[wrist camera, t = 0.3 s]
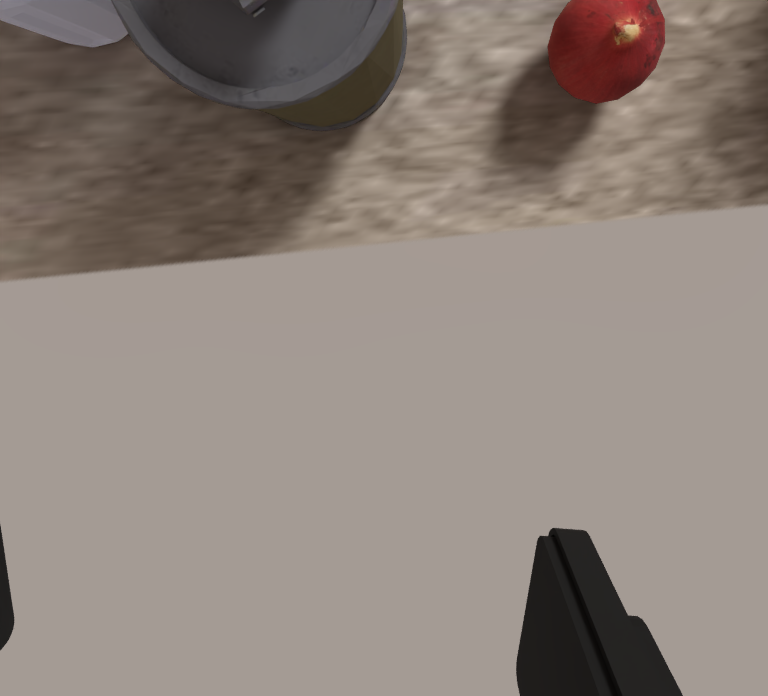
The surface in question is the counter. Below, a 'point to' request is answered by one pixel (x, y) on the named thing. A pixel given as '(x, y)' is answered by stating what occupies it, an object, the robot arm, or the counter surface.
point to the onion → (605, 47)
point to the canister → (277, 53)
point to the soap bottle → (67, 20)
